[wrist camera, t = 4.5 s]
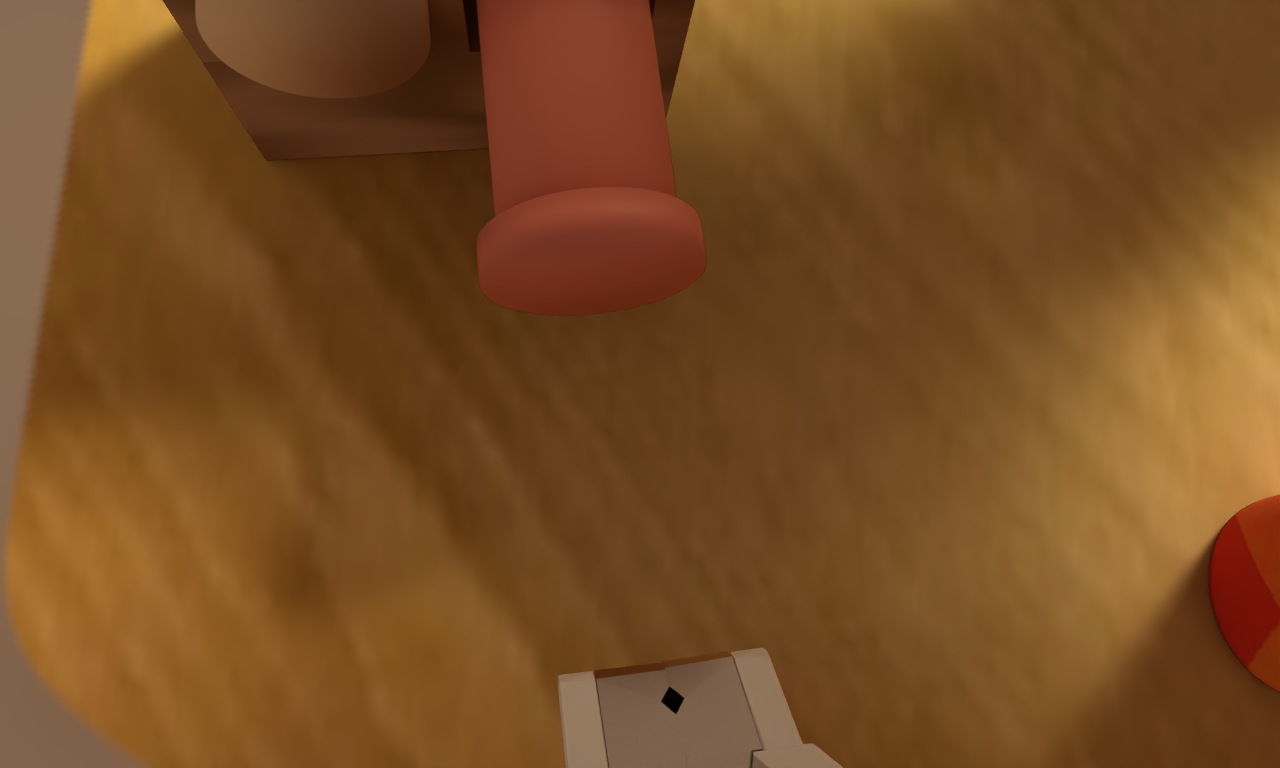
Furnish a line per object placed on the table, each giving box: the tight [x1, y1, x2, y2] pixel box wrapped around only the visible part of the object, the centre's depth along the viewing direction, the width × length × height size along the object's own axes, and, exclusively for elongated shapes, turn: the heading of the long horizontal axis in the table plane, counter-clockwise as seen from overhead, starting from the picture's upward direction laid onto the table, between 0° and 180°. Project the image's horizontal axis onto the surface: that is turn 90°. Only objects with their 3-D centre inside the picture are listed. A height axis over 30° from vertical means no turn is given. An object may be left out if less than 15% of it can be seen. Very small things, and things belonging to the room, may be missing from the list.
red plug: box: [476, 0, 707, 315], centre depth 18 cm, size 4×11×4 cm, turn 7°
